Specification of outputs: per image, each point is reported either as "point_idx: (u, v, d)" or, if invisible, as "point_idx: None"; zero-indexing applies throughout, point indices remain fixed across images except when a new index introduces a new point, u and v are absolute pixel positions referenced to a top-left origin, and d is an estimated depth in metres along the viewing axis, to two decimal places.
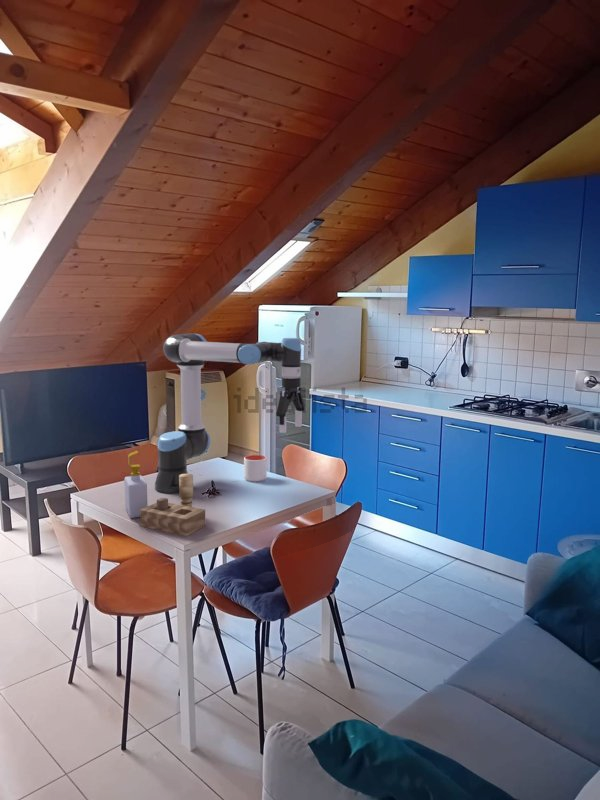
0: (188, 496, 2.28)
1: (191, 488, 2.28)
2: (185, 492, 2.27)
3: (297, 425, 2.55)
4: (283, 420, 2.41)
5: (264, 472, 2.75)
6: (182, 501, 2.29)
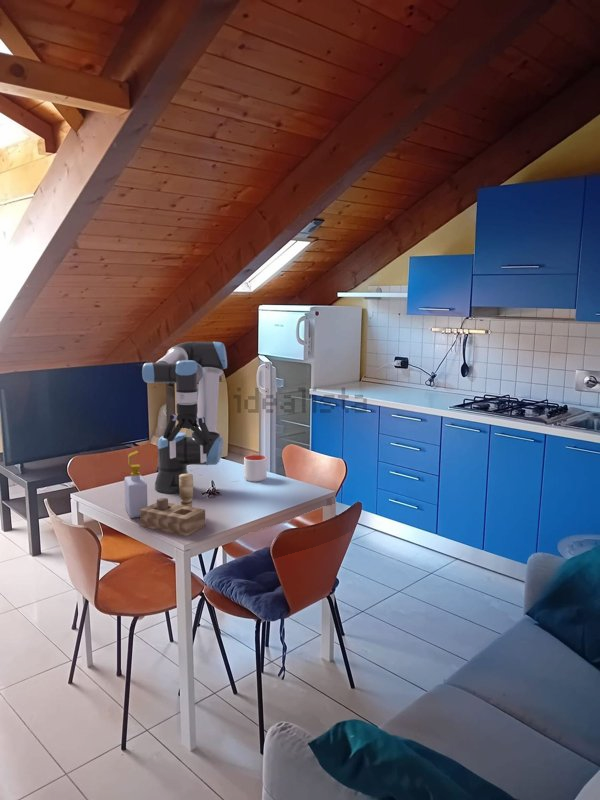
0: (188, 496, 2.28)
1: (191, 488, 2.28)
2: (185, 492, 2.27)
3: None
4: (169, 444, 2.30)
5: (264, 472, 2.75)
6: (182, 501, 2.29)
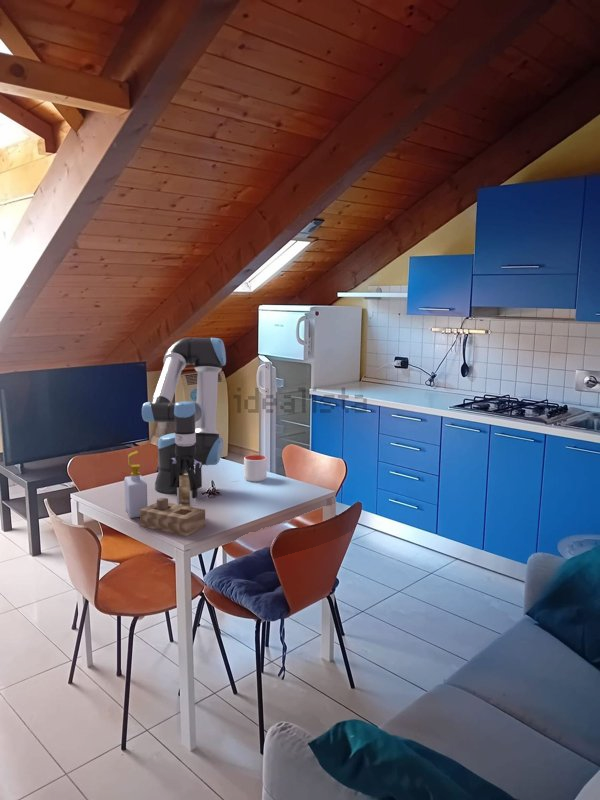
0: (188, 496, 2.28)
1: None
2: (185, 492, 2.27)
3: None
4: (176, 490, 2.31)
5: (264, 472, 2.75)
6: (182, 501, 2.29)
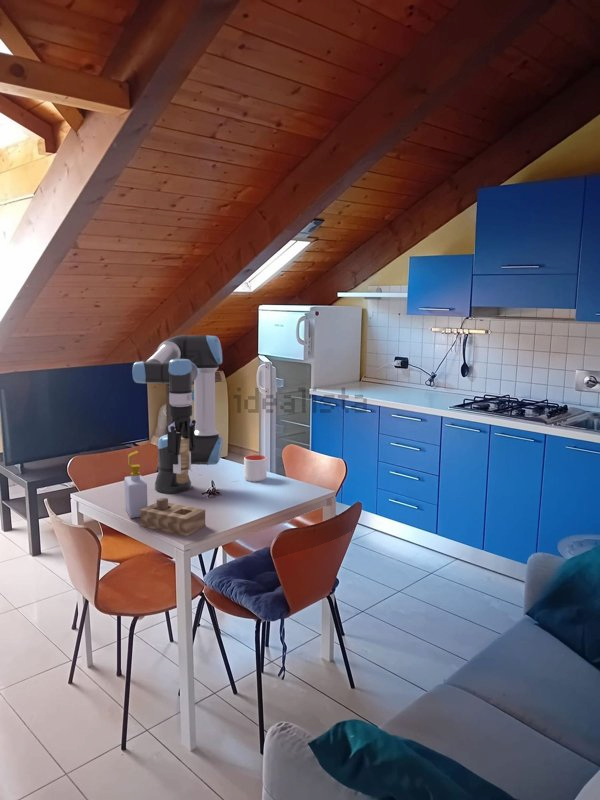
0: None
1: None
2: None
3: None
4: (177, 459, 2.10)
5: (264, 472, 2.75)
6: (186, 466, 2.13)
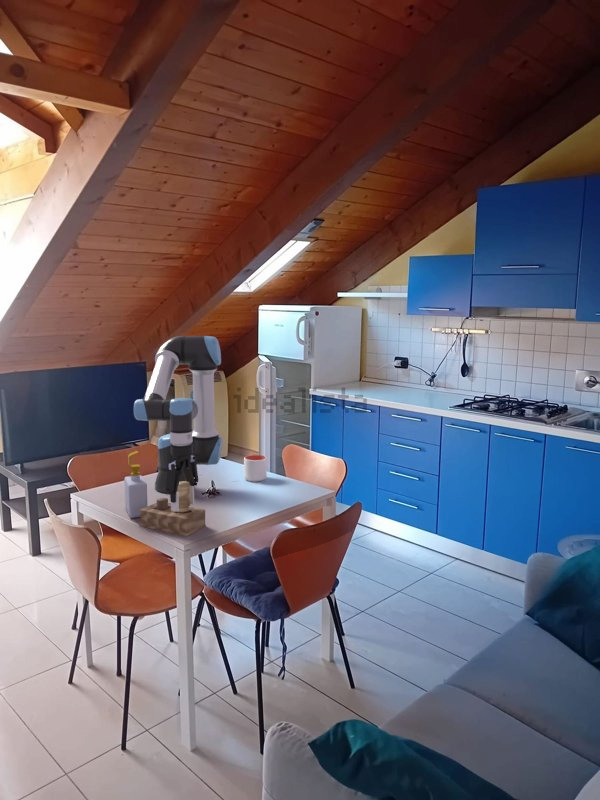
0: None
1: None
2: (189, 499, 2.16)
3: None
4: (174, 497, 2.10)
5: (264, 472, 2.75)
6: (186, 510, 2.15)
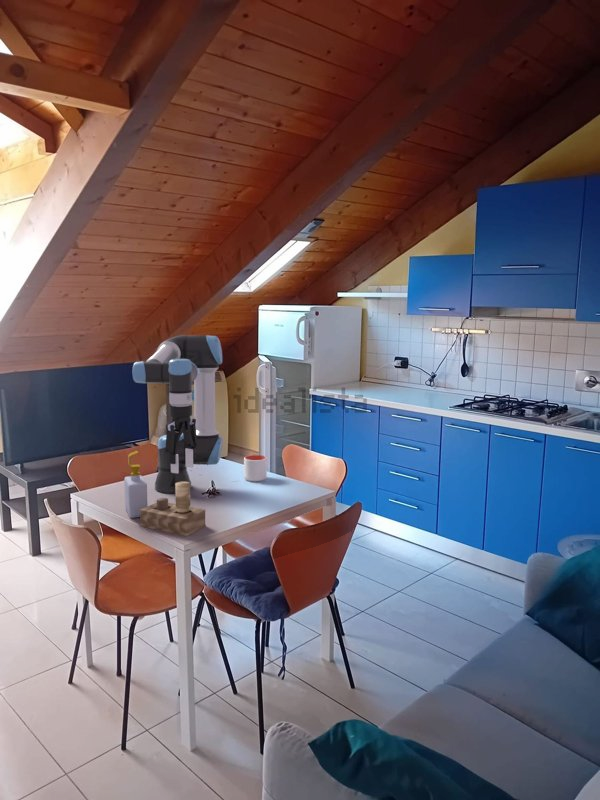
0: None
1: None
2: None
3: (188, 465, 2.17)
4: (174, 459, 2.08)
5: (264, 472, 2.75)
6: (186, 510, 2.15)
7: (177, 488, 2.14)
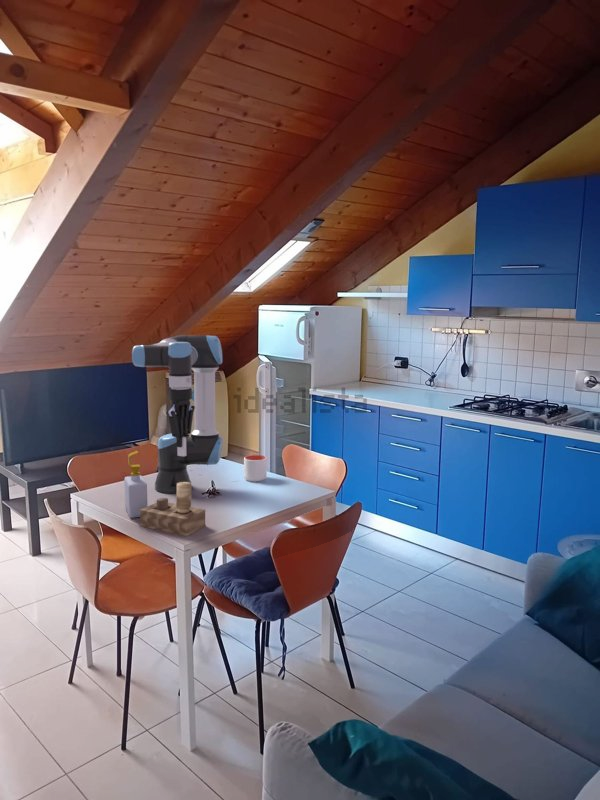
0: None
1: None
2: None
3: None
4: (181, 442, 2.11)
5: (264, 472, 2.75)
6: (187, 511, 2.15)
7: (178, 489, 2.13)
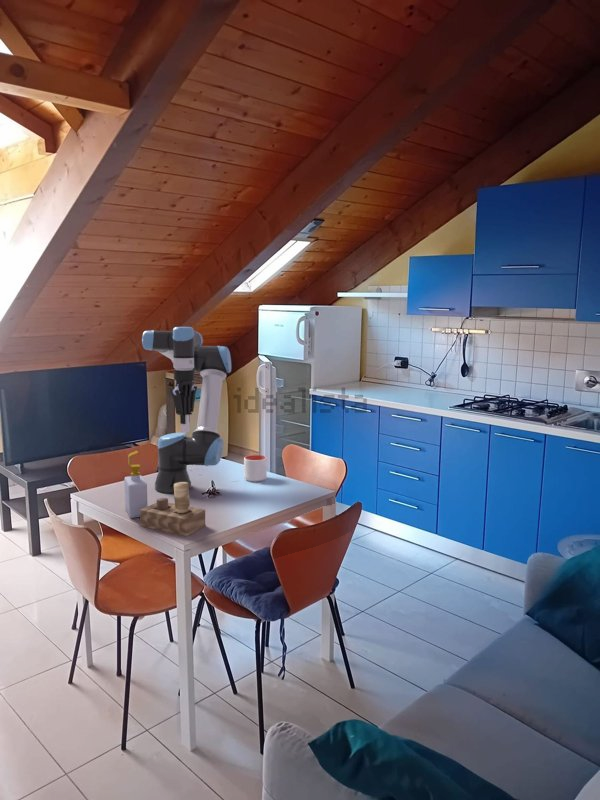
0: None
1: None
2: None
3: None
4: (184, 419, 2.29)
5: (264, 472, 2.75)
6: (186, 511, 2.15)
7: (175, 489, 2.13)
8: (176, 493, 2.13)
